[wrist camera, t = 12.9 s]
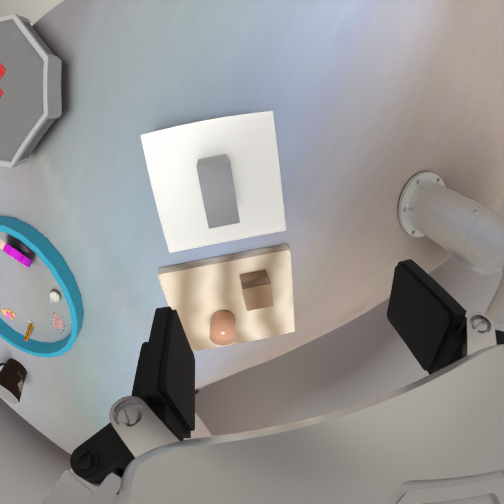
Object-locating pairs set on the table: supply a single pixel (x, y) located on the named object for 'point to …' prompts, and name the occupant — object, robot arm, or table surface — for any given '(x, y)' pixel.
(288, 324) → the birch board
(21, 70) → the first aid kit
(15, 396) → the coffee mug
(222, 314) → the terracotta cylinder
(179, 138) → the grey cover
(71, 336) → the blue ring
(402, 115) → the table surface
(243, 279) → the walnut block
